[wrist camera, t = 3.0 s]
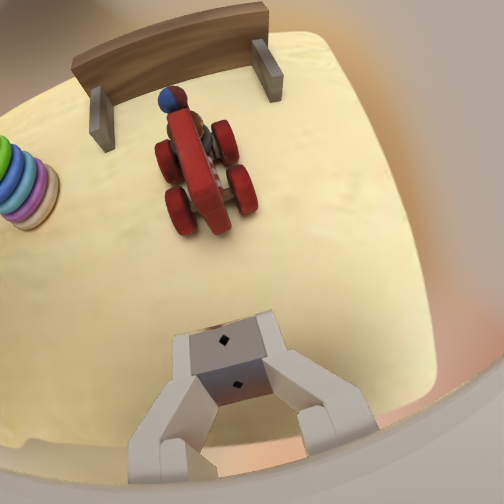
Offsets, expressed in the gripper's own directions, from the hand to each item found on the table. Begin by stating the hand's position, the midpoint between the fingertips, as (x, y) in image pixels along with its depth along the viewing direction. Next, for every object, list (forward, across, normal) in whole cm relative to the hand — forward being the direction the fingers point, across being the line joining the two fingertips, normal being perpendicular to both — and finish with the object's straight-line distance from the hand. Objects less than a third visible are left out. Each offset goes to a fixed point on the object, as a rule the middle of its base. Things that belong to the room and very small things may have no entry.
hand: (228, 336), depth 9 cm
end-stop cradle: (+29, 0, -7) cm, 30 cm away
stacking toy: (+24, +20, -2) cm, 32 cm away
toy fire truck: (+20, 0, +2) cm, 21 cm away
